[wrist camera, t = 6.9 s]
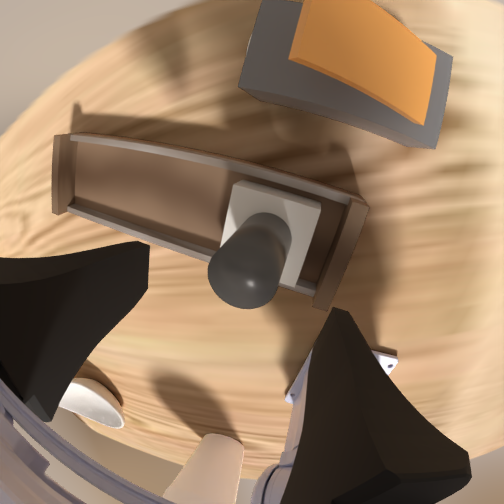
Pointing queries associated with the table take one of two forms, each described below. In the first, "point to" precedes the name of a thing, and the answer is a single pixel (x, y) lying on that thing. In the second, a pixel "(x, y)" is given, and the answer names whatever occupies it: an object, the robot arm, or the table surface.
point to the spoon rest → (93, 402)
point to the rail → (194, 200)
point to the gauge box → (330, 83)
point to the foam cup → (209, 473)
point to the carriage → (261, 244)
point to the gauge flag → (366, 53)
